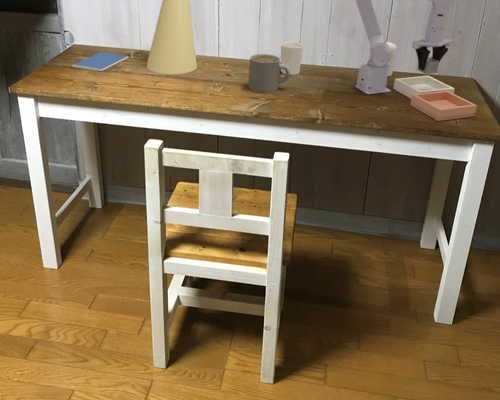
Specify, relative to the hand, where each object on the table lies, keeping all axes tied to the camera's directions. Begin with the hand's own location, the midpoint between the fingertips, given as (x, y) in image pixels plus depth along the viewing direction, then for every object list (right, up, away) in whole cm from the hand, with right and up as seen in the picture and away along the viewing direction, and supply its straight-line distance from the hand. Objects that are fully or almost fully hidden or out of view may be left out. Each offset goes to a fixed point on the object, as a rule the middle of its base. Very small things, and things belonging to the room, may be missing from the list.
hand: (427, 68), depth 187 cm
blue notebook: (-113, +6, +20) cm, 115 cm away
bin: (+2, -15, -9) cm, 18 cm away
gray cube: (0, -1, 0) cm, 1 cm away
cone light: (-87, +6, +21) cm, 90 cm away
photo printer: (-12, +1, +19) cm, 22 cm away
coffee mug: (-53, -6, +2) cm, 53 cm away
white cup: (-44, +3, +19) cm, 48 cm away
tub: (0, -7, +4) cm, 9 cm away
